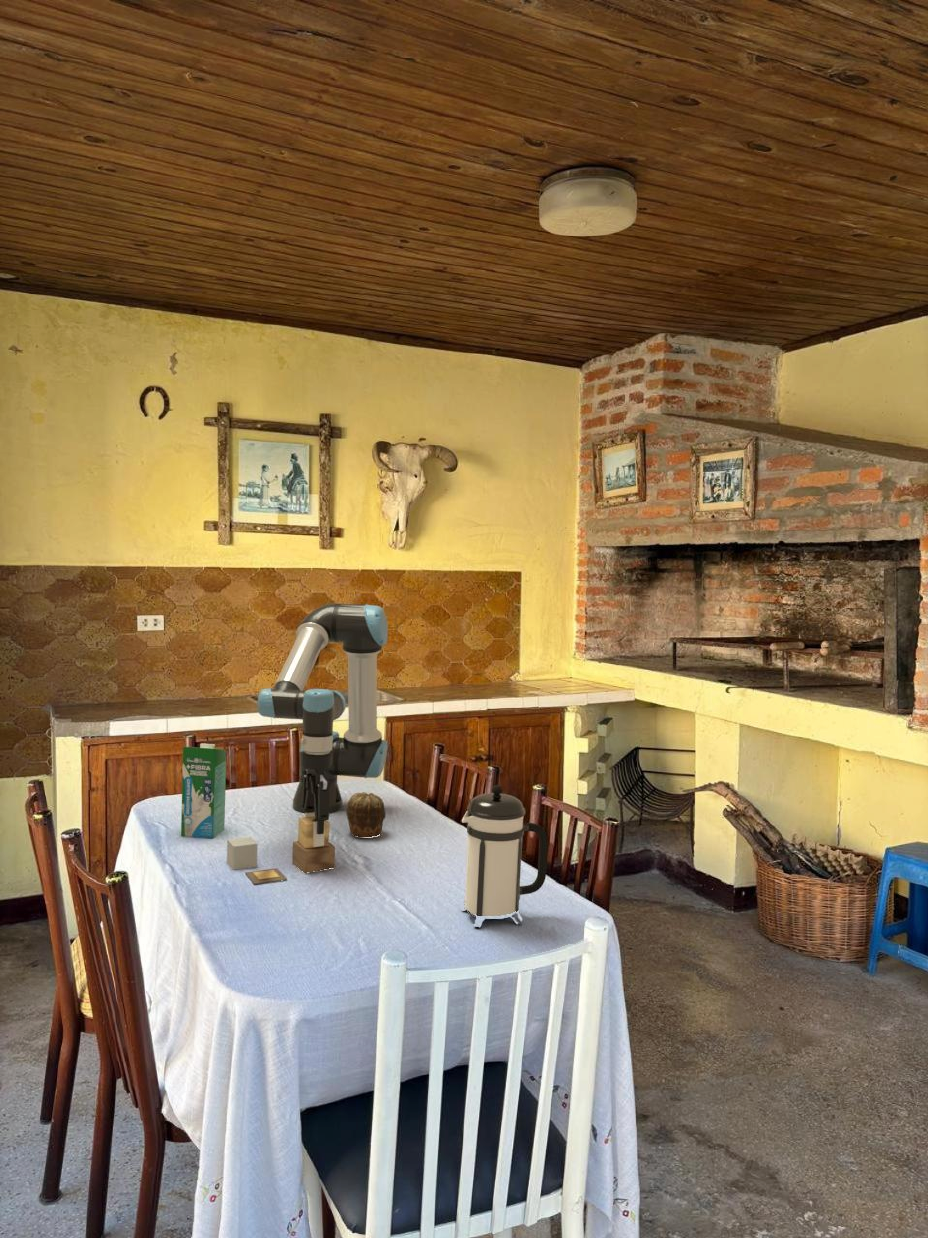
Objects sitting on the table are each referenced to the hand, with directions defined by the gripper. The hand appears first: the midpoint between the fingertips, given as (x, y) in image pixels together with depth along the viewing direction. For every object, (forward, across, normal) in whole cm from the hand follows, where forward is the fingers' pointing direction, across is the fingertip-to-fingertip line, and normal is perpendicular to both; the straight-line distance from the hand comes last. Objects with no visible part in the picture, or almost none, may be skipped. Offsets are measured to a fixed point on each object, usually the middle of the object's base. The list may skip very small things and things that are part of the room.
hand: (313, 841), depth 231 cm
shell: (+6, -19, +22) cm, 30 cm away
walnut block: (+7, 0, 0) cm, 7 cm away
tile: (+6, +3, -13) cm, 15 cm away
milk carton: (+7, -37, -19) cm, 42 cm away
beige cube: (+6, -8, -16) cm, 19 cm away
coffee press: (+7, +45, +27) cm, 53 cm away
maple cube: (0, 0, 0) cm, 0 cm away
